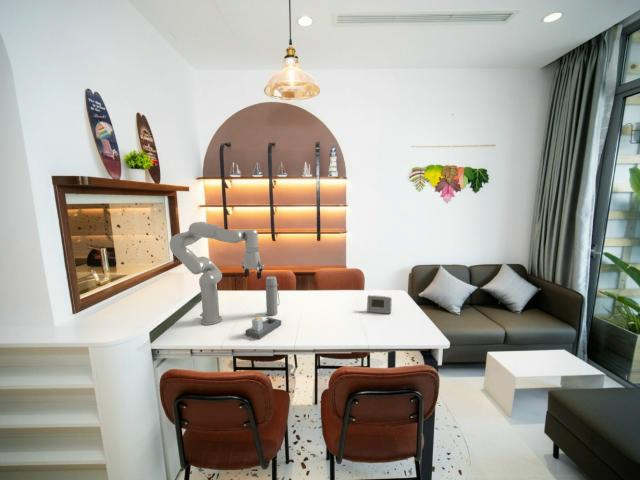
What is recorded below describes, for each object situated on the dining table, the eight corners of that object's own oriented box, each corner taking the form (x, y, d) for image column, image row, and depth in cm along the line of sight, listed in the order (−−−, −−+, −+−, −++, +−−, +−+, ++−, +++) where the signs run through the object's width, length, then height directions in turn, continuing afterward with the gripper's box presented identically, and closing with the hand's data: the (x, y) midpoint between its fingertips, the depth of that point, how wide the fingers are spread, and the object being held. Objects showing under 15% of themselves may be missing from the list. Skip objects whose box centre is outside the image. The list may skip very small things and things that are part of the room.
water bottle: (269, 317, 178) (268, 279, 174) (264, 313, 184) (263, 277, 181) (282, 313, 183) (281, 277, 180) (276, 310, 189) (275, 274, 186)
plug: (252, 334, 154) (252, 318, 153) (257, 331, 157) (256, 315, 156) (258, 336, 152) (257, 319, 151) (262, 333, 156) (262, 316, 154)
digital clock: (365, 312, 185) (365, 296, 183) (369, 307, 193) (369, 292, 191) (390, 316, 177) (390, 300, 176) (392, 311, 186) (393, 296, 184)
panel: (245, 335, 153) (245, 330, 153) (268, 321, 171) (267, 316, 170) (259, 339, 148) (259, 333, 148) (281, 324, 166) (281, 319, 166)
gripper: (236, 249, 166) (238, 277, 169) (259, 252, 158) (260, 280, 161) (245, 248, 173) (246, 274, 175) (267, 250, 165) (268, 277, 167)
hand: (253, 277), depth 168 cm, fingers open, 9 cm apart
